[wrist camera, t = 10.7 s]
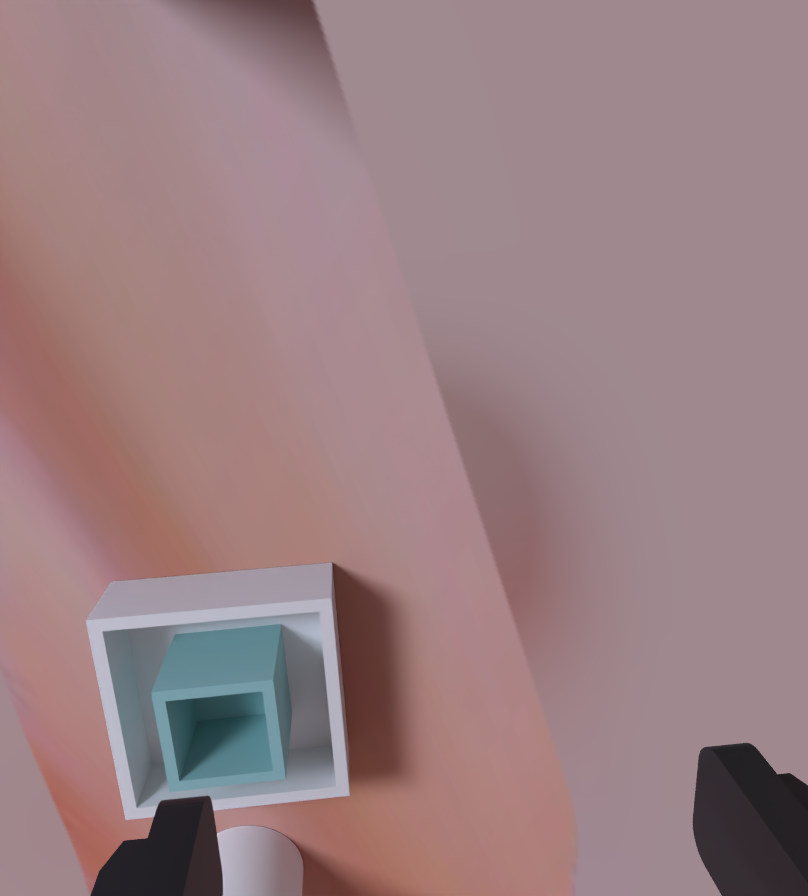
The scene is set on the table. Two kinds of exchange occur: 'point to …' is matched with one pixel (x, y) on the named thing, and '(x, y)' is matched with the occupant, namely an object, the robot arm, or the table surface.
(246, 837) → the cylindrical container
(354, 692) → the table surface
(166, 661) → the teal crate
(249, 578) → the white crate
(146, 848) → the robot arm
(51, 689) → the table surface
